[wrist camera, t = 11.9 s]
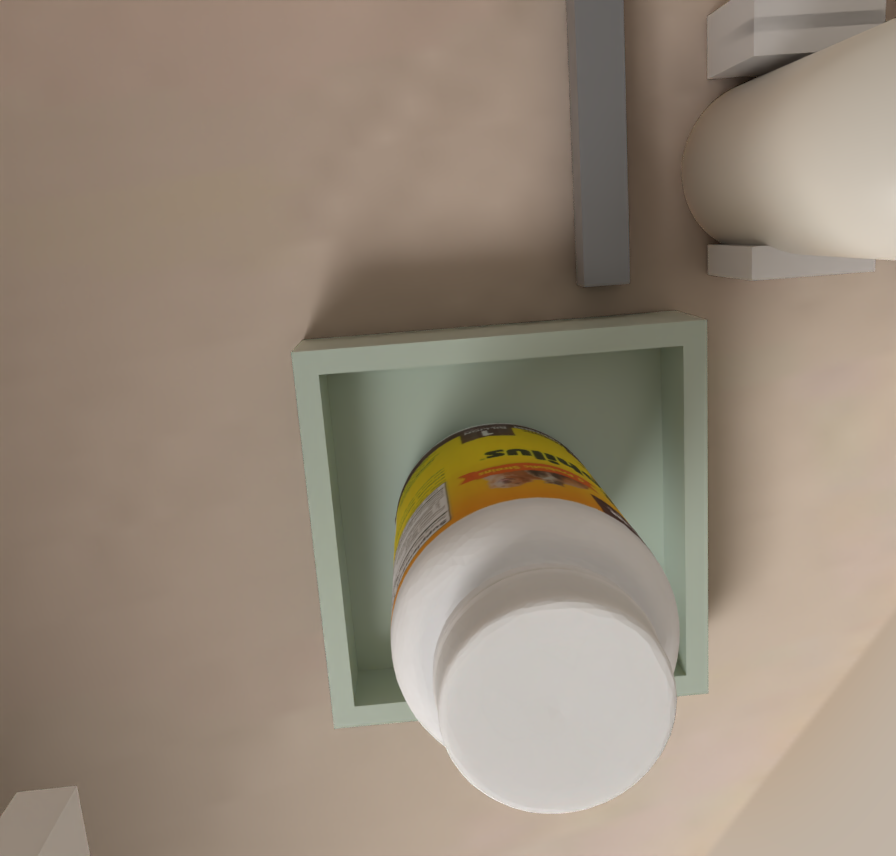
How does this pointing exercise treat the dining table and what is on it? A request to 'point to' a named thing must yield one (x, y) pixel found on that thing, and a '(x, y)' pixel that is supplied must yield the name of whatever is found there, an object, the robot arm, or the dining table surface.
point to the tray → (498, 401)
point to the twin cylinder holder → (751, 140)
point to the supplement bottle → (530, 622)
